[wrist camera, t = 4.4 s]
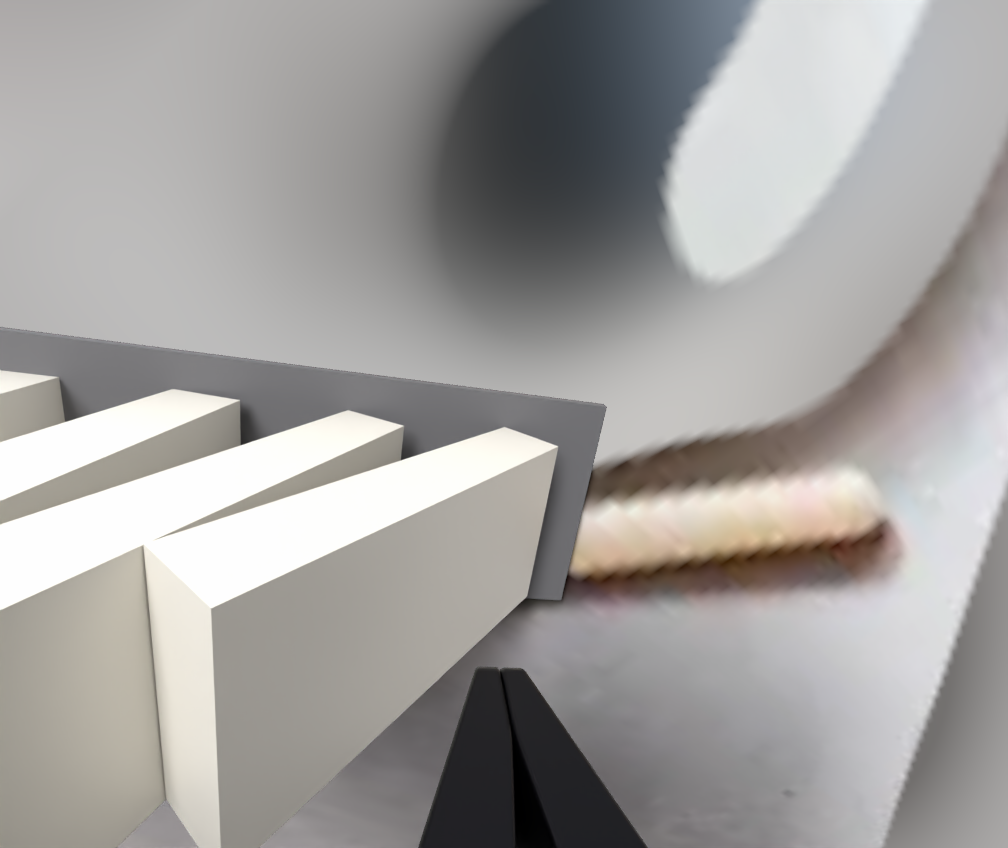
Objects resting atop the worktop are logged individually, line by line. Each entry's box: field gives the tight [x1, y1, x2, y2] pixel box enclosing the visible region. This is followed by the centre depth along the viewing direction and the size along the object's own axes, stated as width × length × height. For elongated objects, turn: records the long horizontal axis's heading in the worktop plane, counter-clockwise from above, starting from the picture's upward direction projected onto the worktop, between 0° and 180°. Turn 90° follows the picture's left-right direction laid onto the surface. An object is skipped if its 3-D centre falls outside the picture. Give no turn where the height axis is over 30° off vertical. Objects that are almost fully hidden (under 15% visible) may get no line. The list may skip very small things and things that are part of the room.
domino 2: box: [0, 410, 404, 848], centre depth 9 cm, size 5×2×9 cm, turn 171°
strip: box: [0, 327, 607, 600], centre depth 13 cm, size 22×7×1 cm, turn 81°
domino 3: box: [143, 427, 558, 848], centre depth 10 cm, size 5×2×9 cm
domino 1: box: [0, 389, 241, 524], centre depth 9 cm, size 5×2×9 cm, turn 171°
